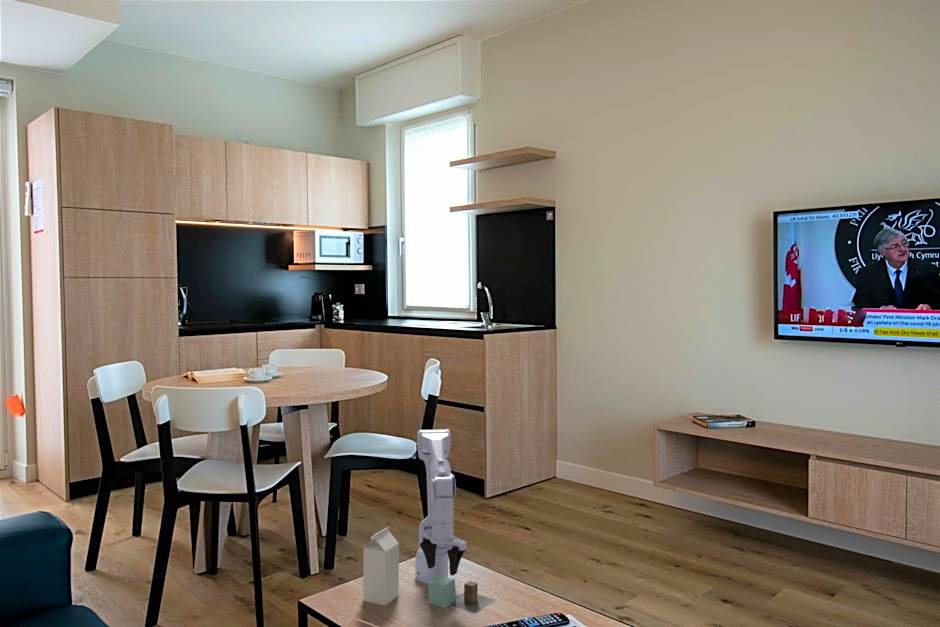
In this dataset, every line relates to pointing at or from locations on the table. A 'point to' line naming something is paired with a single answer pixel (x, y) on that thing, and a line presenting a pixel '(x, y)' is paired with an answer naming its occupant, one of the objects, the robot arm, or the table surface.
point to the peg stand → (471, 599)
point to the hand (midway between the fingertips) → (442, 570)
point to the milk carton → (381, 568)
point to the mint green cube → (442, 591)
